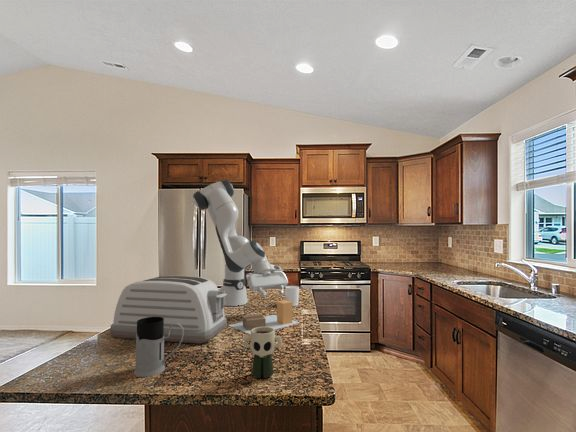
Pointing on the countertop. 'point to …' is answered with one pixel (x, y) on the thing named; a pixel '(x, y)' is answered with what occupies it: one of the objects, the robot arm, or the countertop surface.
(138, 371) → the glass holder
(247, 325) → the walnut plinth
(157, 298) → the toaster
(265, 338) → the character mug
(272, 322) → the board
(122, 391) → the countertop surface
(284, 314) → the orange block
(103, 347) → the countertop surface
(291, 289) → the white cup
